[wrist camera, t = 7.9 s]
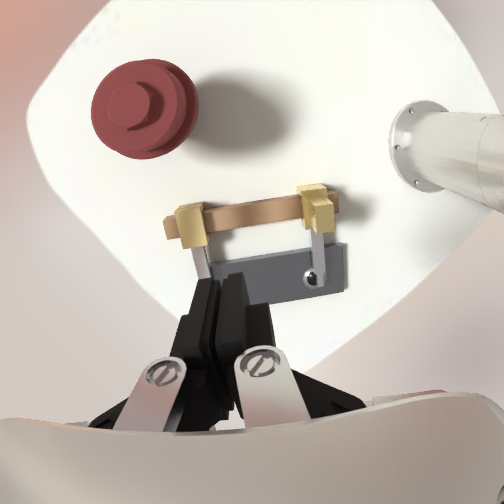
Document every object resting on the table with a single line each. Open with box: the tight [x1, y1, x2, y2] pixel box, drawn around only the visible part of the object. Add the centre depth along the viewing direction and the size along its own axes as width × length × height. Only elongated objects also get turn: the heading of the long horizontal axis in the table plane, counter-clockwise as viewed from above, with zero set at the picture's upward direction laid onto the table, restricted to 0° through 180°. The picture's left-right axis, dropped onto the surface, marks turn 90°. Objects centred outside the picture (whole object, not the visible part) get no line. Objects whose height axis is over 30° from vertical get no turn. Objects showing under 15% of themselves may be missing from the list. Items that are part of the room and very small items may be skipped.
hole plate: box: [209, 243, 344, 305], centre depth 40 cm, size 20×7×1 cm, turn 99°
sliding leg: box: [297, 184, 335, 287], centre depth 35 cm, size 3×13×7 cm, turn 9°
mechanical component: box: [91, 59, 198, 159], centre depth 26 cm, size 12×10×10 cm
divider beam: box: [163, 190, 339, 279], centre depth 37 cm, size 21×13×3 cm, turn 99°
